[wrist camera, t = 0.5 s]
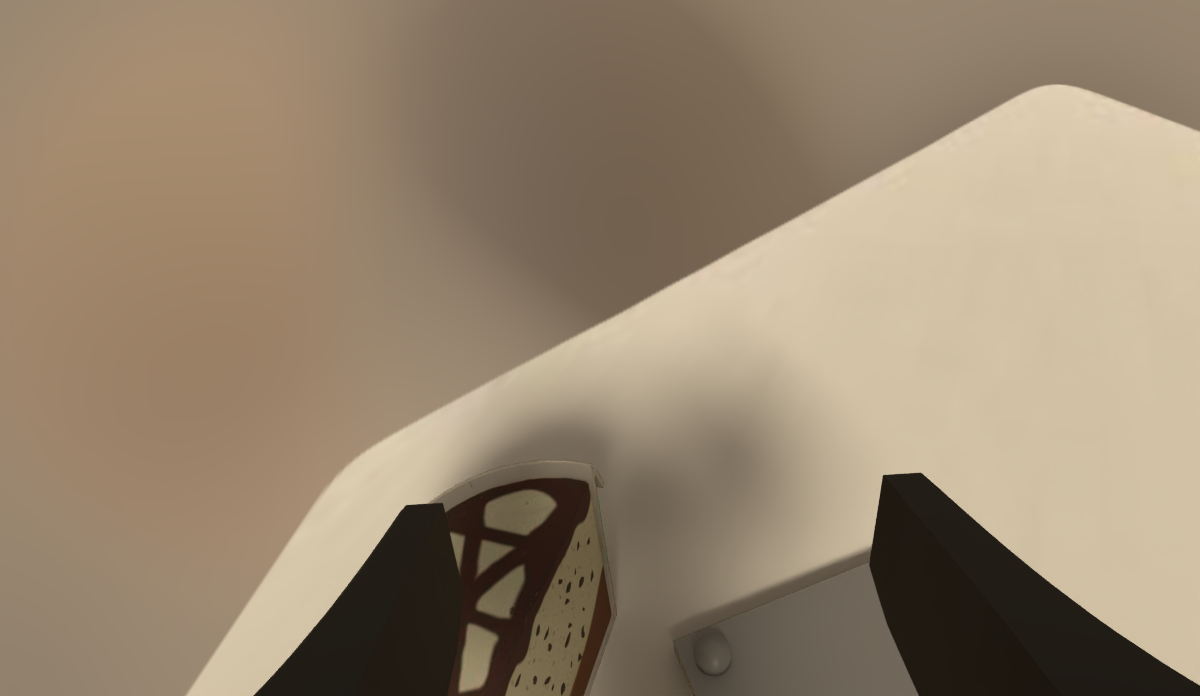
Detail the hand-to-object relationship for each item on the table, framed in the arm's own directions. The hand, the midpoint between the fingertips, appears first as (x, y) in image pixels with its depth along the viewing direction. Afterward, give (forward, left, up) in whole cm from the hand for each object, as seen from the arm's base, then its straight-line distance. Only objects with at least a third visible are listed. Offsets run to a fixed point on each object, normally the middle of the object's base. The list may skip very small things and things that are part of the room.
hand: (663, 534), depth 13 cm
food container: (+6, +6, -20) cm, 22 cm away
